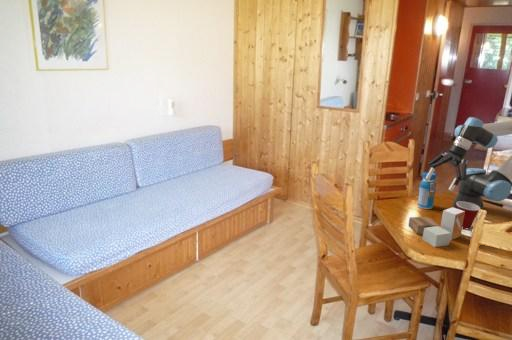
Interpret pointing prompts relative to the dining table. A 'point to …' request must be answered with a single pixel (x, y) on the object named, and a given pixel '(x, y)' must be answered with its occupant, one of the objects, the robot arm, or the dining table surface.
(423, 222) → the walnut block
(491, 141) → the robot arm
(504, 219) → the dining table surface
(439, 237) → the grey block
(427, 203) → the beverage bottle
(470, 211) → the plastic cup
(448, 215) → the small box
